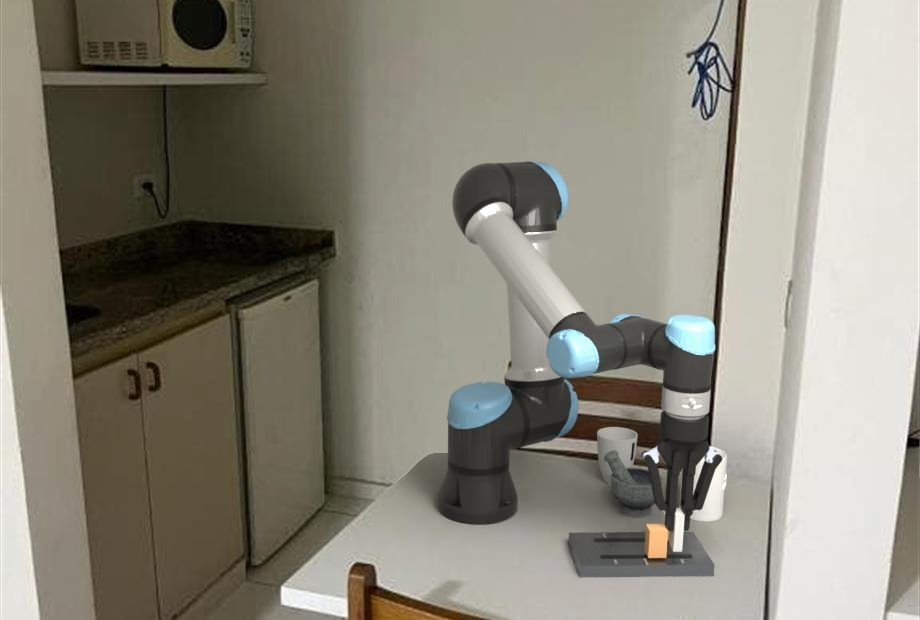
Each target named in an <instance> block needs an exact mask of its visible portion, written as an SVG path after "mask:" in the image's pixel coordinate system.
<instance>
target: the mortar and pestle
mask: <svg viewBox="0 0 920 620" xmlns="http://www.w3.org/2000/svg"><path fill="white" fill-rule="evenodd" d="M604 459H605V461H606V462H608V464H609V466H610V468H611V470H612V475H611V481H610V492H611V494H612V496H613V498H614V499H615V500H616V501H617V502H618V503H619V505H618V509H617V510H618V512H619V513H620V514H621V515H623V516H625V517H629V518H632V519H639V518H640V519H644V518H647V517H650V516H651V514H652V506H654V505H656V504H655V502H654V497H653V491H652V486H651V481H650V476H649V471H648V468H647V469H646V468H642V467H632V468H626V467H625V466H624V464H623V463H622V461H621V460H620V458H619V454H618V452H617V451H610V452H608V453H607V454H606V455H605V457H604ZM659 475H660V480H661V486H662V487H663V480H664V479H663V478H664V477H663V475H661V474H659Z"/></svg>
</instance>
